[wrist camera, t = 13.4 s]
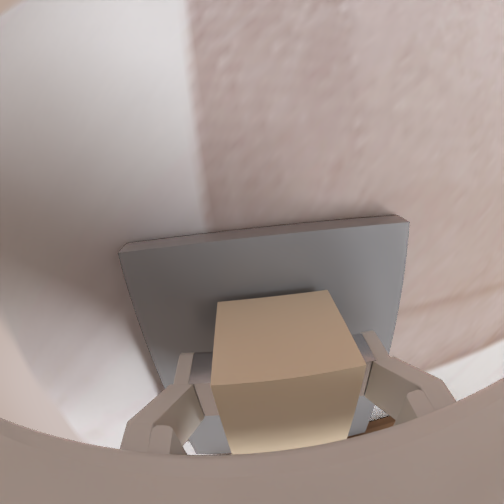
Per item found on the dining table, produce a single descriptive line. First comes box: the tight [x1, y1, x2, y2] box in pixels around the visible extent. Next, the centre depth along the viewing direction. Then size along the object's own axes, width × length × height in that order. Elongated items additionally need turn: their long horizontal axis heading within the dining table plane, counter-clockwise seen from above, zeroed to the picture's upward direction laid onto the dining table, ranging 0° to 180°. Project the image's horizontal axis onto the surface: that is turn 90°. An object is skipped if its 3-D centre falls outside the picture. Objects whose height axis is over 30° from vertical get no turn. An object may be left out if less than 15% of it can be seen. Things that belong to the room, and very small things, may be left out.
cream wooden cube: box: [210, 290, 366, 455], centre depth 9 cm, size 4×4×4 cm
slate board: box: [118, 215, 410, 454], centre depth 13 cm, size 14×11×1 cm
